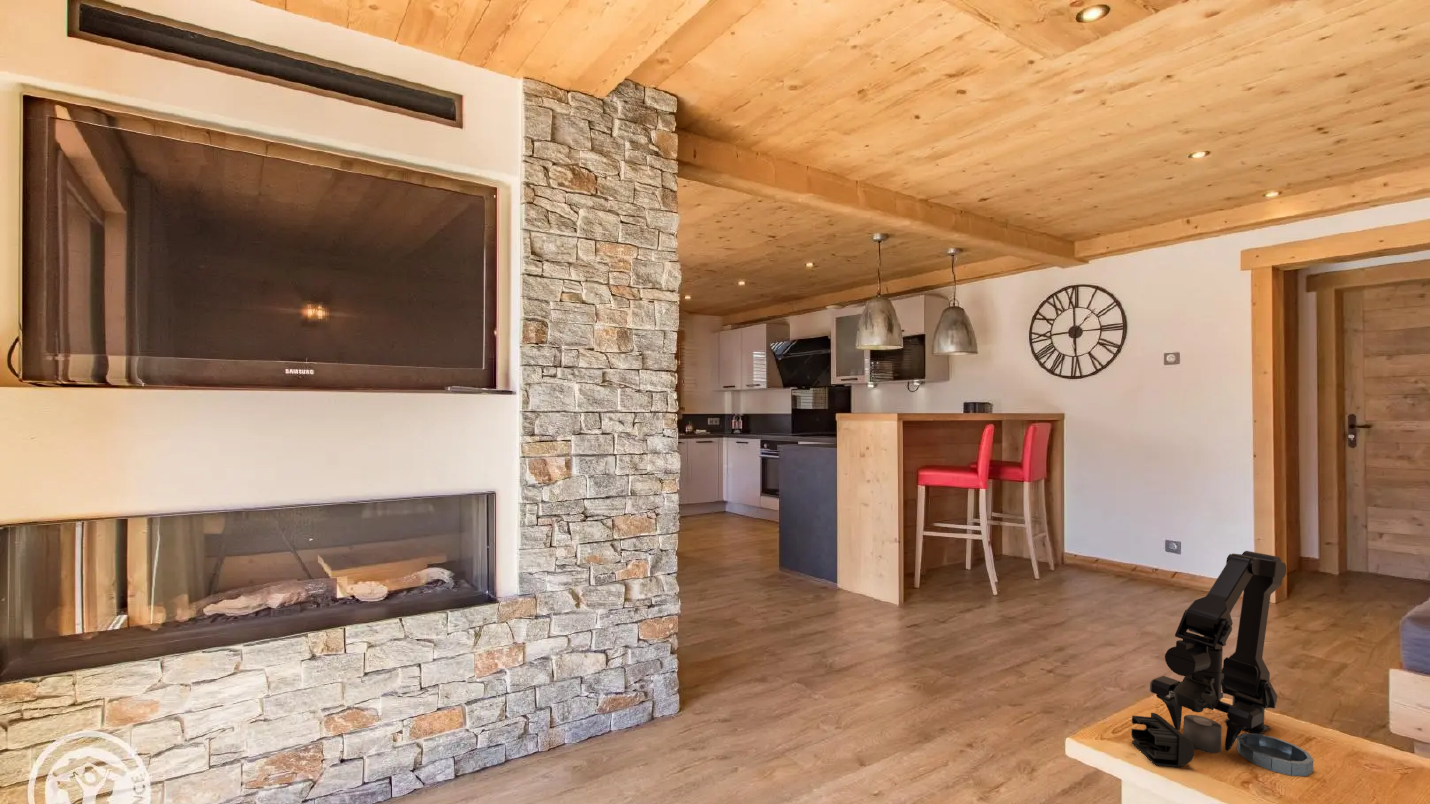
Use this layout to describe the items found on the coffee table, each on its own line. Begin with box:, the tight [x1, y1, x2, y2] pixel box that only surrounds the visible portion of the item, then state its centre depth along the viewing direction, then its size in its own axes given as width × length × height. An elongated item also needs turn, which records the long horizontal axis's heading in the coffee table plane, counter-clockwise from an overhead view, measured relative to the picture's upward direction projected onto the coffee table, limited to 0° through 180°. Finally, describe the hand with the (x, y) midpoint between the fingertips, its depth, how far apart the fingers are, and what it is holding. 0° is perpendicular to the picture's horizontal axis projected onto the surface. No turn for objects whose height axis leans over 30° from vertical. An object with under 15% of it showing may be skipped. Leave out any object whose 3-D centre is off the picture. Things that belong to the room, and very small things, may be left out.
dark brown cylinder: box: [1182, 714, 1223, 754], centre depth 139 cm, size 6×6×5 cm
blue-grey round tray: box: [1236, 732, 1314, 777], centre depth 134 cm, size 12×12×2 cm
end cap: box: [1130, 712, 1195, 769], centre depth 134 cm, size 10×7×7 cm
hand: (1201, 740), depth 139 cm, fingers open, 9 cm apart
